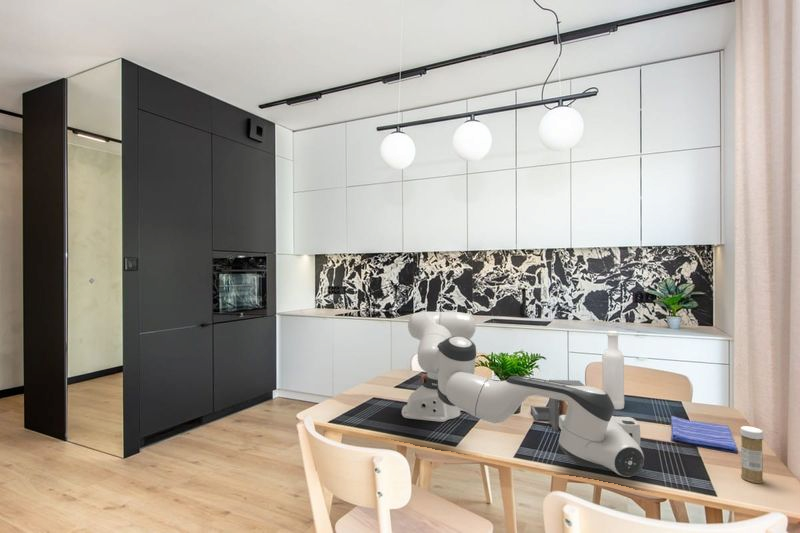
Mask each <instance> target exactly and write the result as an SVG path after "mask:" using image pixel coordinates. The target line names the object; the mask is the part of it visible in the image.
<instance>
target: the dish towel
mask: <svg viewBox="0 0 800 533" xmlns="http://www.w3.org/2000/svg"><path fill="white" fill-rule="evenodd" d="M670 417H671V419H670V420H671V422H670V426H671V434H670V435H671V436H670V440H671V442H674V443H676V444H684V445H689V446H695V447H699V448H704V449H711V450H716V451H720V452H726V453H733V454H737V453H738V447H737V445H736V442H735V439H734V437H733V434H732V432H731V429H730V427H729V425H727V424H726V425H725V424H718V423H713V422H712V423H709V422H704V421H698V420H697V421H696V420H690V419H689V420H688V419H686V418H682V417H677V416H674V415H671V416H670Z"/></svg>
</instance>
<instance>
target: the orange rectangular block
mask: <svg viewBox="0 0 800 533" xmlns="http://www.w3.org/2000/svg"><path fill="white" fill-rule="evenodd" d="M558 407H559V416H560V415H566V412H567V408H568V403H567V402H566V401H562V400H558ZM558 425H559V421H558Z"/></svg>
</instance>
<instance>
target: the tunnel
mask: <svg viewBox="0 0 800 533" xmlns="http://www.w3.org/2000/svg"><path fill="white" fill-rule="evenodd" d="M548 381H554V382H559V383H565V384H571V385H578V386H586V385H585V384H583V383H582V382H581V381H580V380H571V379H570V380H564V379H548ZM548 404H549V405H548V407H549V421H548V422H549V424H550V425H551V427H552V428H553V430H554V431H559V424H558V407H559V400H557V399H552V398H548Z"/></svg>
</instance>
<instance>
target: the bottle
mask: <svg viewBox="0 0 800 533" xmlns="http://www.w3.org/2000/svg"><path fill="white" fill-rule="evenodd" d="M606 335H607V348H606V350H604V351H603V354H602V356H601V359H602V360H601V361H602V362H601V363H602V364H601V368H602V369H601V377H602V378H601V383H602V384H601V386H602V388H601V390H602V391H604V392H606V393H607V394H608V395H609V397H610V399H611V400H612V403H613V405H614V408H615V409H614V410H622V409H624V408H625V365H624V364H625V358H624V354H623V353H622V352H621V350H619V332H618V331H617V330H608V331H607V334H606Z"/></svg>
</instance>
